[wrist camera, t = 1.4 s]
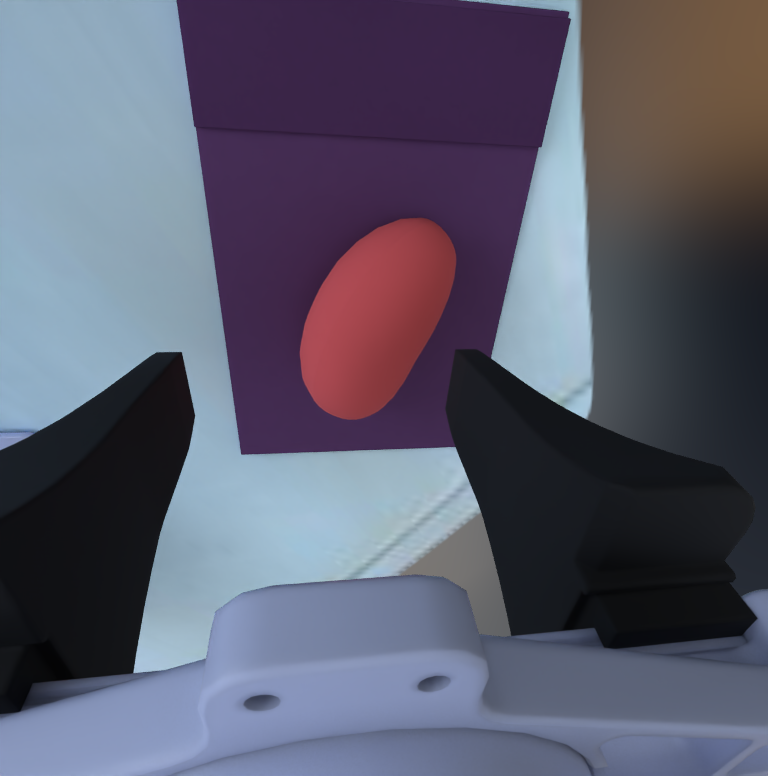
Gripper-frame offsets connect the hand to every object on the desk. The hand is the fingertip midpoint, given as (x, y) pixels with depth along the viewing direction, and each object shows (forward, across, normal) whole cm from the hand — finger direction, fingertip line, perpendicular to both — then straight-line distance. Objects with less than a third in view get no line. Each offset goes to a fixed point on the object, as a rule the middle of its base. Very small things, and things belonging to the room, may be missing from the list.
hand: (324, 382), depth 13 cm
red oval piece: (+9, -2, +2) cm, 10 cm away
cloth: (+9, -2, +1) cm, 10 cm away
